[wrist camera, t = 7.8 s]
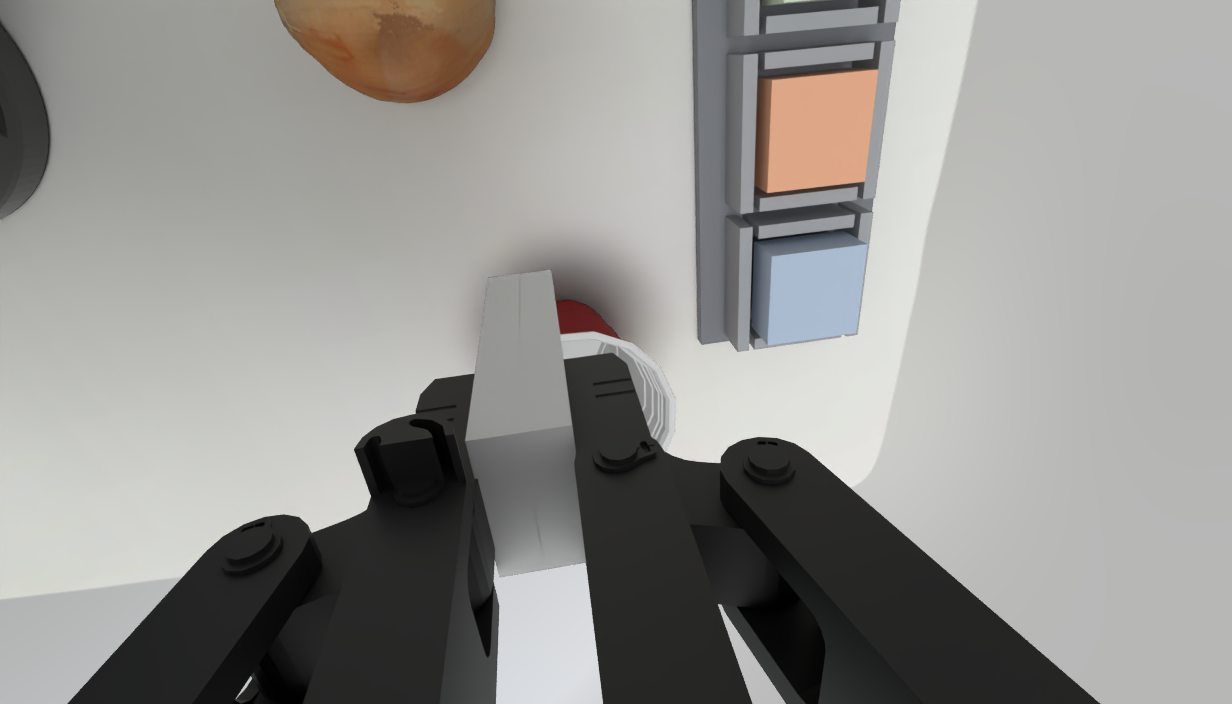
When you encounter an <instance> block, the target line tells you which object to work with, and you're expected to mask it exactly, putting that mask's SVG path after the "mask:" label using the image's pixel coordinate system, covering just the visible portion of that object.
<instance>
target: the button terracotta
mask: <svg viewBox="0 0 1232 704" xmlns="http://www.w3.org/2000/svg"><path fill="white" fill-rule="evenodd" d="M877 76H878V69H863V68H843V69H833V70H823V71H813V72H803V73H793V74H783V75H773V76H763V77H757V105H756V138H755V170H754V185H755V186H756V187H758V188H760V189H761V190H763V191H765V192H766V193H772V192H781V191H789V190H798V189H806V188H815V187H823V186H832V185H840V184H848V183H857V182H865V177H866V168H867V160H868V152H869V143H870V135H871V126H872V118H873V110H874V101H875V93H876V85H877Z"/></svg>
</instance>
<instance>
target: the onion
mask: <svg viewBox="0 0 1232 704" xmlns="http://www.w3.org/2000/svg"><path fill="white" fill-rule="evenodd" d="M274 2H275V6H276V8H277V10H278V13H279V15H280V18H281V21H282V23H283V25H284V26H285V27H286V29H287V30H288V32H289V33H290V34H291V36H292V37H293V38H294V39H295V40H296V41H297V42H298V43H299V44H300V46H301V47H302V48H303V49H304V50H305V51H306V52H308V53H309V54H310V55H311V56H313V57H314V58H315V59H316V60H317V61H318V62H319V63H320V64H321V65H322V66H324V67H325V69H326V70H327V71H328V72H330V73H331V74H332V75H333V76H335V77H336V78H337V79H339V80H340V81H341V82H343V83H344V84H346V85H347V86H349V87H351V88H353V89H355V90H356V91H358V92H360V93H362V94H365V95H367V96H369V97H372V98H375V99H377V100H380V101H388V102H397V103H413V102H420V101H425V100H429V99H432V98H435V97H437V96H439V95H441V94H443V93H445V92H447V91H449V90H451V89H453V88H454V87H455V86H457V85H458V84H459V83H460V82H462V81H463V80H464V79H465V78H466V77H467V76H468V75H469V74H470V73H471V72H472V71H473V69H474V68H475V67H476V65H477V64H478V63H479V61H480V60H481V59H482V57H483V56H484V54H485V53H486V51H487V49H488V48H489V46H490V44H491V41H492V38H493V34H494V28H495V0H274Z"/></svg>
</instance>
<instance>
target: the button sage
mask: <svg viewBox="0 0 1232 704" xmlns="http://www.w3.org/2000/svg"><path fill="white" fill-rule="evenodd" d="M819 1H830V0H762V6H774V5H785V4H796V3H807V2H819Z"/></svg>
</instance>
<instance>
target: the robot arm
mask: <svg viewBox="0 0 1232 704" xmlns="http://www.w3.org/2000/svg"><path fill="white" fill-rule="evenodd" d="M47 155H48V127H47V120H46V114H45V110H44V106H43V102H42V99H41V96H40V93H39V90H38V88H37V85H36V83H35V81H34V78H33V76H32V74H31V72H30V70H29V68H28V66H27V64H26V62H25V61H24V59H23V57H22V55H21V54H20V52H19V51H18V49H17V47H16V46H15V44H14V43H13V41H12V40H11V39H10V37H9V36H8V34H7V33H6V32H5V30H4V29H3V28H2V26H1V25H0V219H2V218H4V217H5V216H7V215H9V214H11V213H12V212H13V211H15V210H16V209H18V208H19V207H20V206H21V205H22V204H23V203H24V202H25V201H26V200H27V199H28V198H29V197H30V196H31V194H32V193H33V191H34V190H35V189H36V187H37V185H38V183H39V181H40V179H41V177H42V174H43V172H44V168H45V165H46V160H47ZM354 451H355V454H356V456H357V459H358V462H359V464H360V467H361V470H362V473H363V475H364V478H365V481H366V484H367V486H368V489H369V492H370V494H371V499H370V502H369V505H368V508H367V510H365V511H364V512H362V513H361V514H358V515H356V516H354V517H352V518H350V519H347V520H345V521H342V522H340V523H337V524H335V525H332V526H329V527H327V528H324V529H321V530H319V531H316V532H313V533H311V531H310V529H309V526H308V525H307V524H306V523H305V522H304V521H303V520H302V519H301V518H299V517H295V516H290V515H285V514H284V515H276V516H268V517H263V518H261V519H258V520H255V521H252V522H249V523H247V524H244V525H242V526H240V527H239V528H237V529H235V530H233V531H232V532H230V533H228V534H227V535H225V536H223V537H222V538H221V539H220V540H219V541H217V542H216V543H215V544H214V545H213V546H212V547H211V548H209V549H208V550H207V551H206V552H205V553H204V554H203V555H202V556H201V558H200V559H199V560H198V561H197V562H196V563H195V564H194V565H193V566H192V567H191V569H190V570H189V571H188V572H187V573H186V574H185V575H184V576H183V577H182V578H181V580H180V581H179V582H178V583H177V584H176V585H175V586H174V587H173V588H172V590H171V591H170V592H169V593H168V594H167V595H166V596H165V597H164V598H163V599H162V600H161V602H160V603H159V604H158V605H157V606H156V607H155V608H154V609H153V610H152V612H151V613H150V614H149V615H148V616H147V617H146V618H145V619H144V620H143V621H142V622H141V624H140V625H139V626H138V627H137V628H136V629H135V630H134V631H133V633H132V634H131V635H130V636H129V637H128V638H127V639H126V640H125V641H124V642H123V643H122V645H120V647H119V648H118V649H117V650H116V651H115V652H114V653H113V654H112V655H111V656H110V658H109V659H108V660H107V661H106V662H105V663H104V664H103V665H102V666H101V667H100V669H99V670H98V671H97V672H96V673H95V674H94V675H93V676H92V677H91V679H90V680H89V681H88V682H87V683H86V684H85V685H84V686H83V687H82V688H81V689H80V691H79V692H78V693H77V694H76V695H75V696H74V697H73V698H72V699H71V700H70V702H69V703H68V704H496V682H497V680H496V679H497V654H498V626H499V603H498V599H497V594H496V590H495V586H494V582H493V580H494V561H495V562H496V566H497V569H498V573H499V577H505V576H511V575H516V574H522V573H528V572H534V571H540V570H546V569H552V568H557V567H562V566H569V565H575V564H581V563H586V566H587V574H588V583H589V590H590V599H591V607H592V615H593V623H594V631H595V640H596V647H597V656H598V664H599V673H600V681H601V689H602V697H603V704H752V701H751V698H750V696H749V693H748V690H747V687H746V684H745V681H744V678H743V676H742V673H741V670H740V667H739V664H738V661H737V658H736V656H735V653H734V650H733V647H732V644H731V641H730V638H729V636H728V632H727V630H726V627H725V624H724V621H723V618H722V615H721V612H720V610H719V607H718V604H722V606H723V608H724V611H725V613H726V615H727V616H728V617H729V619H730V621H731V622H732V624H733V625H734V627H735V628H736V629H737V631H738V633H739V634H740V635H741V637H742V638H743V640H744V641H745V643H746V644H747V646H748V647H749V649H750V650H751V652H752V653H753V655H754V656H755V658H756V659H757V661H758V662H759V664H760V665H761V667H762V668H763V670H764V671H765V673H766V674H767V676H768V677H769V679H770V680H771V682H772V683H773V685H774V686H775V688H776V689H777V691H778V692H779V694H780V695H781V697H782V698H783V700H784V701H785V703H786V704H1100V703H1099V702H1098V701H1096V700H1095V699H1094V698H1093V697H1092V696H1091V695H1089V694H1088V693H1087V692H1086V691H1085V690H1084V689H1082V688H1081V687H1080V686H1079V685H1078V684H1077V683H1075V682H1074V681H1073V680H1072V679H1071V678H1070V677H1068V676H1067V675H1066V674H1065V673H1064V672H1063V671H1062V670H1060V669H1059V668H1058V667H1057V666H1056V665H1055V664H1054V663H1052V662H1051V661H1050V660H1049V659H1048V658H1046V657H1045V656H1044V655H1043V654H1042V653H1041V652H1040V651H1038V650H1037V649H1036V648H1035V647H1034V646H1033V645H1032V644H1030V643H1029V642H1028V641H1027V640H1025V639H1024V638H1023V637H1022V636H1021V635H1020V634H1019V633H1018V632H1016V631H1015V630H1014V629H1013V628H1012V627H1011V626H1009V625H1008V624H1007V623H1006V622H1005V621H1004V620H1003V619H1001V618H1000V617H999V616H998V615H997V614H996V613H994V612H993V611H992V610H991V609H990V608H988V607H987V606H986V605H985V604H984V603H983V602H981V601H980V600H979V599H978V598H977V597H976V596H975V595H973V594H972V593H971V592H970V591H969V590H968V589H967V588H965V587H964V586H963V585H962V584H961V583H960V582H958V581H957V580H956V579H955V578H954V577H953V576H951V575H950V574H949V573H948V572H947V571H946V570H945V569H943V568H942V567H941V566H940V565H939V564H938V563H936V562H935V561H934V560H933V559H932V558H931V557H929V556H928V555H927V554H926V553H925V552H924V551H922V550H921V549H920V548H919V547H918V546H917V545H916V544H914V543H913V542H912V541H911V540H910V539H909V538H907V537H906V536H905V535H904V534H903V533H902V532H900V531H899V530H898V529H897V528H896V527H895V526H893V525H892V524H891V523H890V522H889V521H888V520H887V519H885V518H884V517H883V516H882V515H881V514H880V513H878V512H877V511H876V510H875V509H874V508H873V507H871V506H870V505H869V504H868V503H867V502H866V501H865V500H863V499H862V498H861V497H860V496H859V495H857V494H856V493H855V492H854V491H853V490H852V489H851V488H849V487H848V486H847V485H846V484H845V483H844V482H843V481H841V480H840V479H839V478H838V477H837V476H836V475H834V474H833V473H832V472H831V471H830V470H829V469H827V468H826V467H825V466H824V465H823V464H822V463H821V462H819V461H818V460H817V459H816V458H815V457H814V456H812V455H811V454H810V453H809V452H807V451H806V450H804V449H803V448H801V447H799V446H798V445H796V444H794V443H791V442H788V441H785V440H781V439H778V438H766V437H756V438H751V439H746V440H741V441H739V442H737V443H736V444H734V445H732V446H730V447H728V449H727V450H726V451H725V453H724V454H723V455H722V456H721V463H707V462H696V461H689V460H683V459H680V458H677V457H674V456H672V455H670V454H668V453H666V452H665V451H664V450H663V448H662V447H661V445H660V444H659V443H658V441H657V440H655V439H654V438H652V437H651V434H650V431H649V428H648V425H647V422H646V419H645V416H644V413H643V410H642V407H641V404H640V401H639V398H638V395H637V392H636V389H635V386H634V383H633V380H632V377H631V374H630V371H629V368H628V365H627V363H626V362H624V361H623V360H622V359H620V358H619V357H618V356H617V355H615V354H614V353H606V354H598V355H591V356H584V357H577V358H570V359H564V357H563V350H562V343H561V336H560V329H559V322H558V315H557V308H556V301H555V293H554V286H553V279H552V272H551V270H544V271H536V272H528V273H520V274H512V275H505V276H497V277H489V278H488V284H487V291H486V298H485V305H484V312H483V319H482V326H481V333H480V340H479V347H478V354H477V361H476V369H475V374H469V375H462V376H455V377H448V378H440V379H435V380H434V381H433V382H432V383H431V384H430V385H429V386H428V387H427V388H426V389H425V390H424V391H423V392H422V393H421V395H420V398H419V401H418V405H417V408H416V414H412V415H408V416H404V417H400V418H396V419H393V420H391V421H388V422H386V423H384V424H382V425H380V426H377V427H376V428H374V429H373V430H372V431H370V432H369V433H368V434H366V435H365V436H364V437H362V439H361V440H360V441H359V443H358V444H357V446H356V447H355V448H354ZM250 676H251V677H252V680H251V682H250V683H249V685H248V686H247V688H246V689H245V690H244V691H243V692H242V693H241V694H240V695H239V697H238V698H237V699H236V697H237V696H238V694H239V693H240V691H241V689H242V688H243V687H244V685H245V683H246V682H247V681H248V679H249V677H250Z"/></svg>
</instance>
